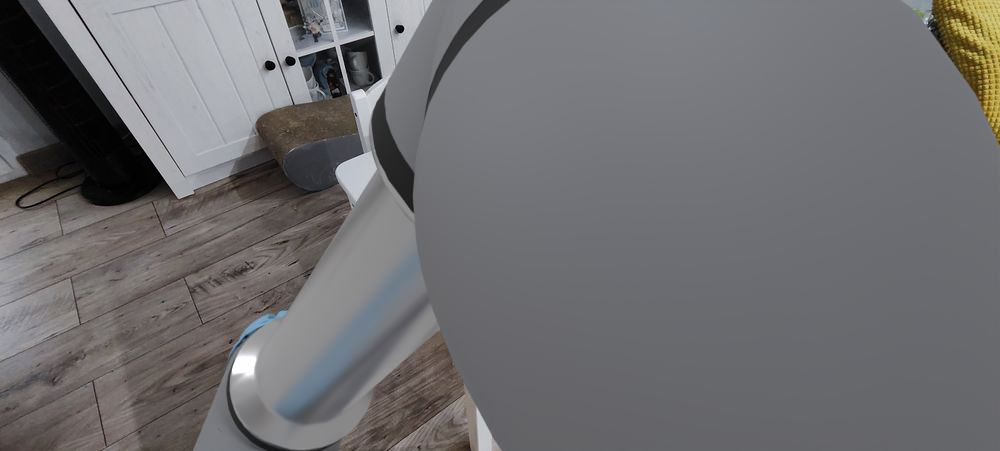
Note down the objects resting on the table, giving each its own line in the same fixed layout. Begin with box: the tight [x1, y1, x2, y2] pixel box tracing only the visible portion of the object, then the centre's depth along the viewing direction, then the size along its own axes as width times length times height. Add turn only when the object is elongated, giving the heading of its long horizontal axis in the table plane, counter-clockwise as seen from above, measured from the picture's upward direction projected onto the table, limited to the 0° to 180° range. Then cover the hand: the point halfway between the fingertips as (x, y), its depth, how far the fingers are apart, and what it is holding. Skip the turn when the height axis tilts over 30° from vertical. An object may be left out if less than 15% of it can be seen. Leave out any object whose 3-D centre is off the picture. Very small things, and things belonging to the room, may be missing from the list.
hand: (530, 258), depth 64 cm, fingers open, 13 cm apart
